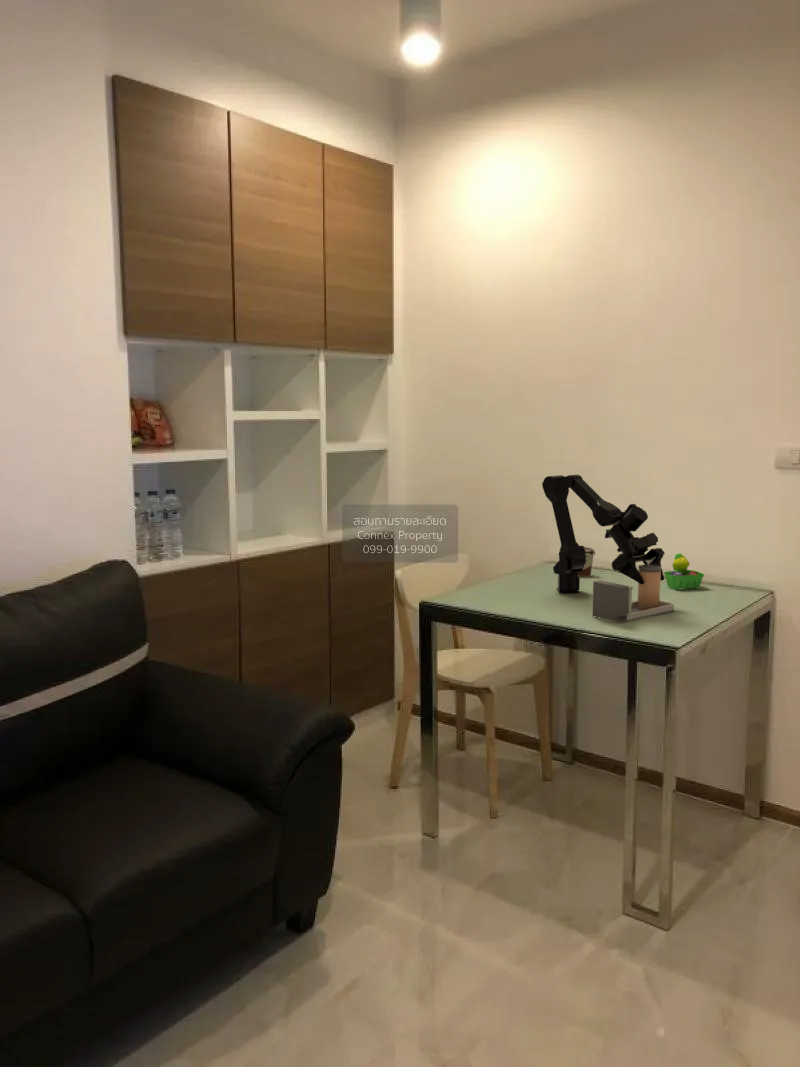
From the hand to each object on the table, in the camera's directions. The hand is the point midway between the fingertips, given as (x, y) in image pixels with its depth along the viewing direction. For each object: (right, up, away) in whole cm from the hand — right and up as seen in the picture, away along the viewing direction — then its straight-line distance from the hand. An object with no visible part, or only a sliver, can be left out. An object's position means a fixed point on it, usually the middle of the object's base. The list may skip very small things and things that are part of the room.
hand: (653, 581), depth 261 cm
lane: (-6, -10, -2) cm, 12 cm away
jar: (-1, -8, +3) cm, 9 cm away
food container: (-11, -1, +57) cm, 58 cm away
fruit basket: (+20, -4, +35) cm, 40 cm away
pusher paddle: (-11, -9, -5) cm, 15 cm away
